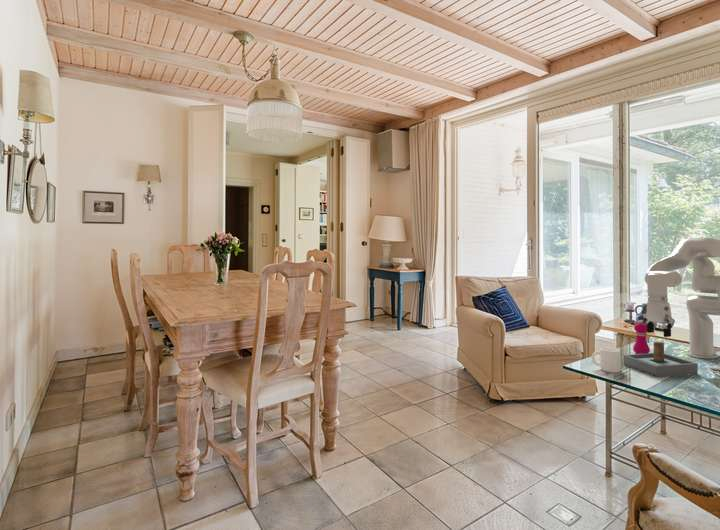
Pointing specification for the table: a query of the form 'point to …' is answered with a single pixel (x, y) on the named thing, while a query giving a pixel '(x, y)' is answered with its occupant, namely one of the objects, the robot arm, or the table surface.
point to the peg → (658, 352)
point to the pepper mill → (641, 338)
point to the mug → (608, 359)
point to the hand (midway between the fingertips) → (658, 334)
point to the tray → (662, 368)
